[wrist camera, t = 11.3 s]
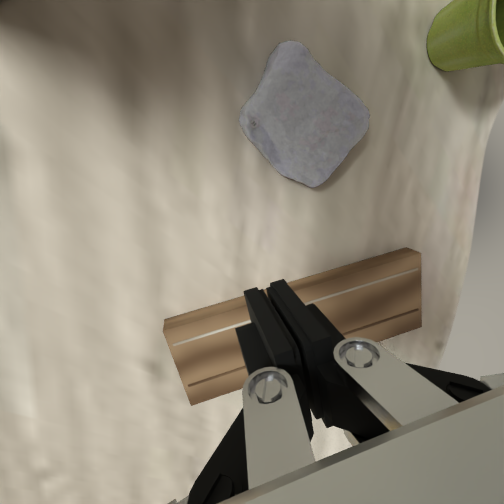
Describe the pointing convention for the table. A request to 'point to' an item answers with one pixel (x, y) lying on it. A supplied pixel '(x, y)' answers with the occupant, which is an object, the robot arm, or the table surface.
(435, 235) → the table surface
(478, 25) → the plant pot
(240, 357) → the walnut board
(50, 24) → the table surface
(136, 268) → the table surface
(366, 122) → the stone block
